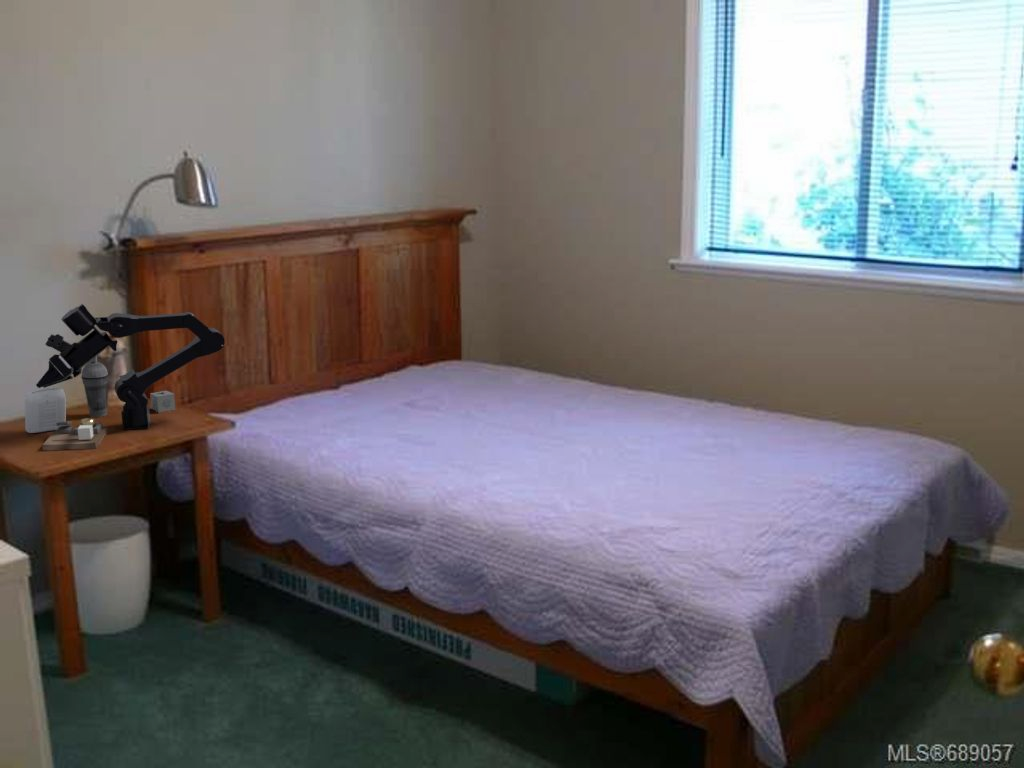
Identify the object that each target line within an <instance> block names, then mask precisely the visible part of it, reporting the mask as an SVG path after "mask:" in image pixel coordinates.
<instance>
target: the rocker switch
mask: <svg viewBox="0 0 1024 768" xmlns="http://www.w3.org/2000/svg"><path fill="white" fill-rule="evenodd" d="M72 424H73V421H72V420H70V421H69V420H67V421H62V422H57V426H64V425H65V426H72Z"/></svg>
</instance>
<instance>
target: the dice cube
mask: <svg viewBox="0 0 1024 768" xmlns="http://www.w3.org/2000/svg"><path fill="white" fill-rule="evenodd" d="M149 395H150V396H149V397H150V408H151V409H153V410H155V411H157V412H163V411H169V412H171V411H170V410H174V411H176V400H175V393H174V392H171V391H169V390H162V391H161V390H160V391H156V392H151V393H149ZM153 410H152V411H153ZM155 411H154V412H155ZM157 412H156V413H157Z"/></svg>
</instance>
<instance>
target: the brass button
mask: <svg viewBox="0 0 1024 768" xmlns="http://www.w3.org/2000/svg"><path fill="white" fill-rule="evenodd" d="M94 422H95V418H94V417H85V418H81V420H80V423H82V425H92V427H95V423H94Z"/></svg>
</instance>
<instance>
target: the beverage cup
mask: <svg viewBox="0 0 1024 768" xmlns="http://www.w3.org/2000/svg"><path fill="white" fill-rule="evenodd" d="M97 357H98V355H97V356H96V357H95V358H94V361H91V362H88V363H87V364H86V365H85V366H83V367H82V370H81V381H82V383H83V387H84V391H85V397H86V402H87V407H88V411H89V416H91V417H90V418H94V417H98V418H103V416H104V417H106V415H107V416H108V380H109V373H108V369H107V367H106V366H105V365H104V364H103V363H101V362H98V358H97Z"/></svg>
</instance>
